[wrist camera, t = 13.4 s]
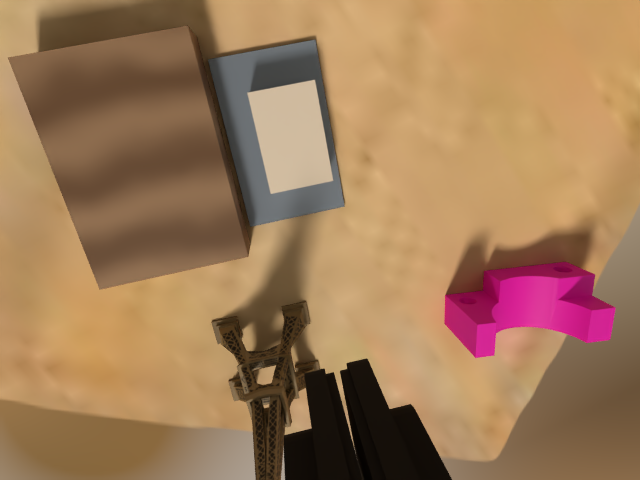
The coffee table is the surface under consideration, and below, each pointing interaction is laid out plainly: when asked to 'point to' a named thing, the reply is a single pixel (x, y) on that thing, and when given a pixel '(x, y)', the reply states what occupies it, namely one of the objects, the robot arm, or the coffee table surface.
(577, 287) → the toy block
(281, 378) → the eiffel tower
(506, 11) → the coffee table surface
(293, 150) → the beige rectangular block
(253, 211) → the mat
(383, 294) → the coffee table surface
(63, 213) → the coffee table surface
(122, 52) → the deck
